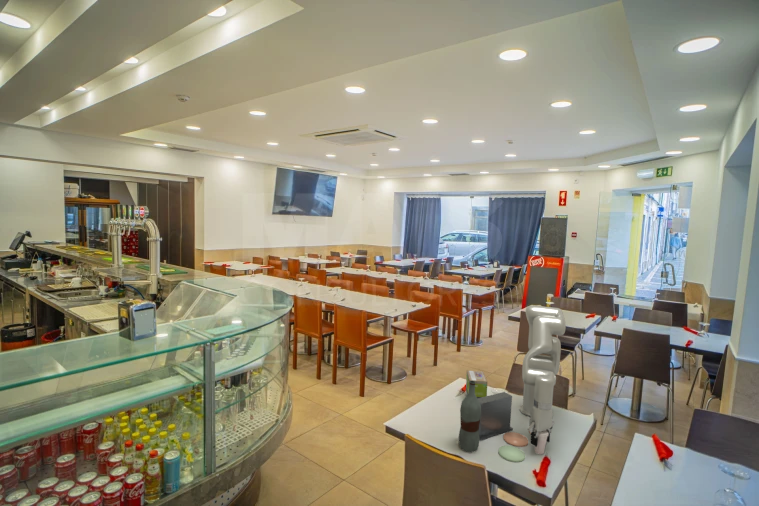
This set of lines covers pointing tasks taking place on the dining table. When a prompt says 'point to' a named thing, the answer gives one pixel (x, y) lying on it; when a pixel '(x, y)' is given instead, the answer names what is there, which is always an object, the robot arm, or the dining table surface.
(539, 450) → the smoothie
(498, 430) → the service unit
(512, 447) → the sage coaster
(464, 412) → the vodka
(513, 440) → the terracotta coaster
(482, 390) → the tea box
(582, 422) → the dining table surface
